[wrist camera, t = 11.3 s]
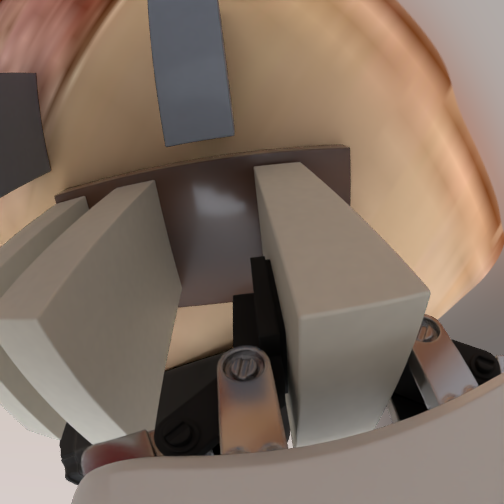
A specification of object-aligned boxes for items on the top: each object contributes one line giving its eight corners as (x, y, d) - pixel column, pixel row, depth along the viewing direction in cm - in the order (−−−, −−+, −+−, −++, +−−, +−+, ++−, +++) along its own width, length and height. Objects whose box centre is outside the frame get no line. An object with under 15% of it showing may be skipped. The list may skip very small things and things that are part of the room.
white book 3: (253, 166, 14) (298, 318, 4) (300, 161, 14) (432, 291, 4) (266, 283, 17) (295, 463, 7) (305, 277, 17) (363, 449, 7)
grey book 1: (12, 87, 11) (-49, 95, 6) (35, 72, 11) (-28, 73, 6) (27, 180, 14) (-30, 213, 9) (51, 170, 14) (-9, 203, 9)
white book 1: (56, 203, 14) (-67, 315, 4) (85, 195, 14) (-46, 317, 4) (91, 296, 17) (27, 430, 8) (120, 294, 17) (61, 441, 8)
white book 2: (115, 187, 14) (-17, 318, 4) (154, 179, 14) (36, 319, 4) (147, 292, 17) (98, 449, 8) (182, 288, 17) (151, 457, 8)
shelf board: (63, 190, 15) (53, 196, 14) (342, 144, 15) (350, 147, 14) (105, 303, 19) (99, 313, 18) (340, 276, 19) (346, 286, 18)
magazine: (341, 408, 12) (52, 524, 10) (357, 425, 14) (79, 534, 12) (244, 278, 28) (63, 413, 26) (262, 299, 29) (82, 425, 27)
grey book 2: (175, 19, 11) (145, -23, 6) (219, 11, 11) (213, -37, 6) (190, 133, 14) (165, 147, 9) (234, 126, 14) (234, 135, 9)
